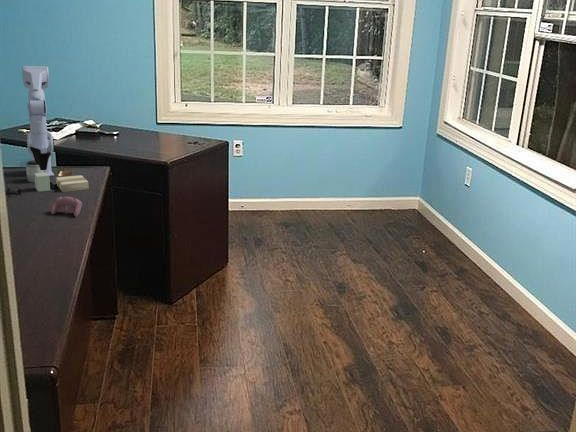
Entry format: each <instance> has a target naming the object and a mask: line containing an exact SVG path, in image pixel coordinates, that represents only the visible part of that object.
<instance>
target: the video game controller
mask: <svg viewBox="0 0 576 432" xmlns="http://www.w3.org/2000/svg"><path fill="white" fill-rule="evenodd" d="M67 206H69V208H68V207H67ZM82 207H83V202H82V201H81V199H80V200H79V198H76V197H72V196H60V197H57V198H56V199H55V200H54V203H53V205H52V207H51V210H50V213H51V215H52V216H53V215H55V214H56V213H57V211H58V210H59V211H60V212H61V213H66V212H67V211H68V213H70V214H73V216H74V217H75V218H78V216H80V213H81V208H82Z"/></svg>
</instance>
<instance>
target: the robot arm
mask: <svg viewBox="0 0 576 432" xmlns="http://www.w3.org/2000/svg"><path fill="white" fill-rule="evenodd" d="M21 76H22V81H23V85H24V88H27V89H29V90H28V93H27V95H28V97H27V98H28V101H27V105H26V106H27V107H26V108H27V114H28V119H29V130H30V131H29V132H28V133H27V137H26V138H27V139H26V144H27V152H28V153H29V154H31V156H30V157H31V159H30V161H35V163H36V165H39V167H40V170H43V173H45V172H47V173H48V175H49V177H53V176H55V174H54V172H53V171H52V160H51V157H52V156H51V155H52V153H53V152H54V139H53V135H52V133H51V132H50V131H49V130H48V128H47V114H48V110H47V109H48V108H47V107H48V106H47V102H46V95H45V89H48V88H49V85H50V77H49V76H50V74H49V67H48V65H47V66H46V65H45V66H44V65H43V66H41V65H39V66H36V65H22V67H21Z"/></svg>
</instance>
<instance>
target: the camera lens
mask: <svg viewBox="0 0 576 432" xmlns="http://www.w3.org/2000/svg"><path fill="white" fill-rule="evenodd" d="M25 171H26V172H25V173H26V179H27V181H28V182H29V183H34V184H35V175H34V173H43V170H40V167H39V165H36V163H35V161H32V160H29V161H28V162H26V163H25Z"/></svg>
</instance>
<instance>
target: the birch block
mask: <svg viewBox="0 0 576 432" xmlns="http://www.w3.org/2000/svg"><path fill="white" fill-rule="evenodd" d="M55 181H56V183H55V184H57V185H56V186H57V187H58V188H59V189H60V191H61V192H62V193H66V192H76V191H85V190H86V191H87V190H90V188H89V187H90V186H89V181H88V180H87V179H86V178H85V177H84V176H83V175H82V174H81V175H69V176H57V177H55Z"/></svg>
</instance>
